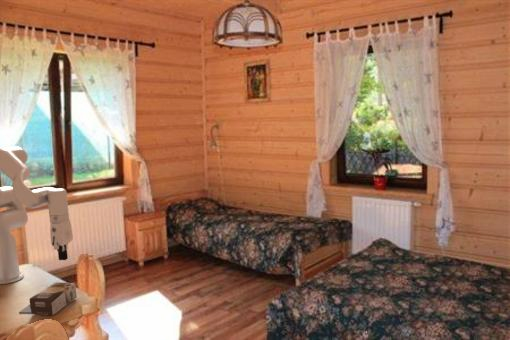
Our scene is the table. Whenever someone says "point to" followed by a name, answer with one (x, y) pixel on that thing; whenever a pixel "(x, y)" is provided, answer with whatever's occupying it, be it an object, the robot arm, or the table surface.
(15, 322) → the table surface
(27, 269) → the table surface
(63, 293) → the coffee box
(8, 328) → the table surface
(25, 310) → the mat
